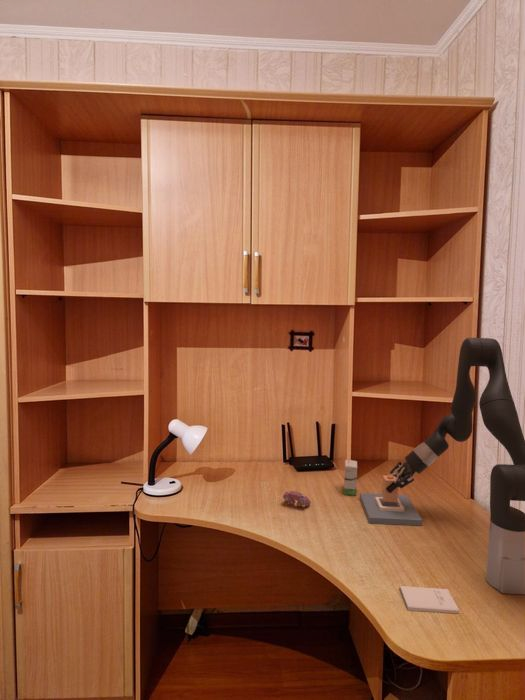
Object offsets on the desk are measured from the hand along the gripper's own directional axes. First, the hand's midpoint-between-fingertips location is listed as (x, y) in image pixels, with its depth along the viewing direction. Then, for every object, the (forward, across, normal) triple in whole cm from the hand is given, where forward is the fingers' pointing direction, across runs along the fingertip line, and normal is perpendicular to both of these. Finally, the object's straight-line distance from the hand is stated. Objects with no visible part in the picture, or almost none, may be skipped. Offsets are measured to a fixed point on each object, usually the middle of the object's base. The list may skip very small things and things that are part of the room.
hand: (386, 488), depth 157 cm
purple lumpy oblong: (+29, -1, -17) cm, 34 cm away
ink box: (+14, -16, -1) cm, 21 cm away
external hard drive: (+7, +49, +6) cm, 50 cm away
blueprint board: (+5, 0, +7) cm, 9 cm away
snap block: (+2, 0, +4) cm, 4 cm away
